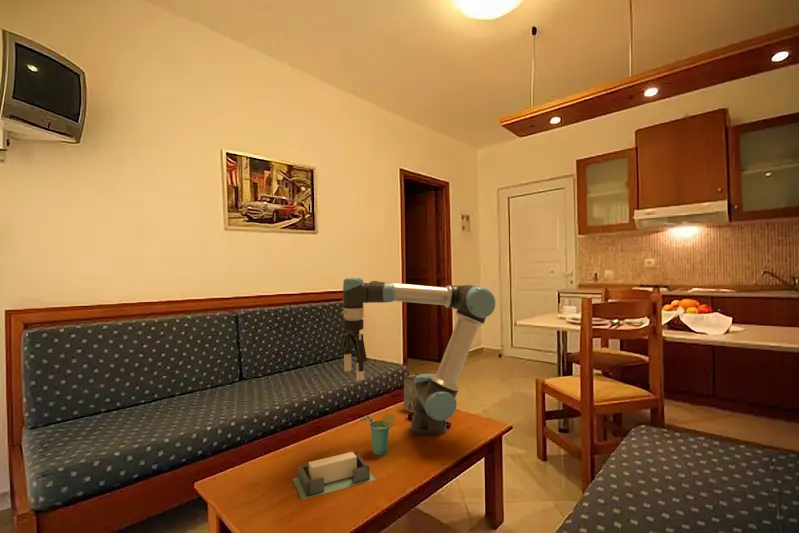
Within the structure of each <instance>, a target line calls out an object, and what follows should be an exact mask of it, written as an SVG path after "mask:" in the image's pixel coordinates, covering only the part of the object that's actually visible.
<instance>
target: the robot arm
mask: <svg viewBox="0 0 799 533" xmlns="http://www.w3.org/2000/svg"><path fill="white" fill-rule="evenodd" d="M342 300H343V306H342V307H343V310H342V311H341V313H342V314H343V331H344V336H343V342H342V346H341V347H342V349H341V351H342V352H343V354H344V355H343V361H344V362H343V364H344V365H343V367H344V368H343V369H344V370H343V371H344V372H351V371H352V353H353V352H352V350H354V353H355V356H356V360H355V366H356V381H357V382H358V381H363V380H365V362H368V358H367V354H366V347H365V342H364V334H363V333H360V331H362V330H363V329H364V314H365V312H364V310H365V309H364V304H365V303H366V304H371V303H372V304H373V303H375V304H376V303H378V304H379V303H381V304H382V303H385V304H386V303H393V302H402V303H413V304H415V303H416V304H426V305H438V306H444V307H445V308H446V309H447V308H448V309H453V310H454V309H455V310H456V312H455V315H456V317H457V320H456V322H455V326H454V328H453V329H452V330H453V331H452V334H451V336H450V339H449V341H448V343H447V346H446V348H445V351H444V353H443V356H442V359H441V362H440V364H439V367H438V368H437V371H436V373H422V374H421V375H417V376H416V377H415V382H414V384H415V412H414V413H413V415H412V419H411V422H410V430H411V431H412V432H413V434H416V435H419V436H422V437H423V436H424V437H436V436H441V435H443V434H444V433H445V432H446V431H447V422H446V420H448V419H450V418H451V417H452V416H454V415H455V413H456V411H457V400H456V398H457V395H458V392H459V387H458V384H457V382H458V381H459V378H460V376H461V373H462V370H463V367H464V365H465V363H466V360H467V357H468V355H469V352H470V349H471V347H472V344H473V341H474V339H475V337H476V333H477V331H478V328H479V327H481V326H483V325H484V324H485V321H486V319H487V318H488V317H489V316H491V314H493V313H494V311H495V309H496V298H495V295H494V294H493V292H492V291H491V290H490V289H488V288H486V287H483V286H481V285H471V284H463V285H451V284H450V285H446V286H434V285H422V284H412V283H411V284H410V283H409V284H408V283H397V282H388V281H387V282H386V281H378V280H371V281H370V282H368V283H367V282H364V278H362V277H347V278H344V280H343V287H342ZM352 348H353V349H352Z"/></svg>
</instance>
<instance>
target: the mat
mask: <svg viewBox="0 0 799 533" xmlns="http://www.w3.org/2000/svg"><path fill="white" fill-rule="evenodd" d="M292 481H293V483H294V486H295V488H296V490H297V492H298V494H299V497H300V499H301V501H303V500H306V499H309V498H313V497H317V496H321V495H324V494H329V493H332V492H335V491H340V490H342V489H343V490H344V489H348V488H350V487H354V486H357V485H361V484H364V483H365V484H366V483H368V482H372V481H376V478H375V477H374V475H372V473H371V472H370V480H366V481H363V482H359V483H355V484H354V483H353V482H352V480H351V479H350V477H347V478H344V479H340V480H336V481H332V482H328V483H325V484H324V492H322V493H319V494H315V495H311V496H308V497H307V496H306V494H305V492H304V490H303V488H302V485H301V483H300V481H299V479H298V476H297V477H294V478H292Z"/></svg>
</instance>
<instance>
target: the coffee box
mask: <svg viewBox="0 0 799 533" xmlns="http://www.w3.org/2000/svg"><path fill="white" fill-rule="evenodd" d="M417 375H421V374H420V373H416V372H415V373H413V374H410V375H406V376H403V411H407V412H410V413H413V412H415V384H414V382H415V377H416V376H417Z"/></svg>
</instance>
